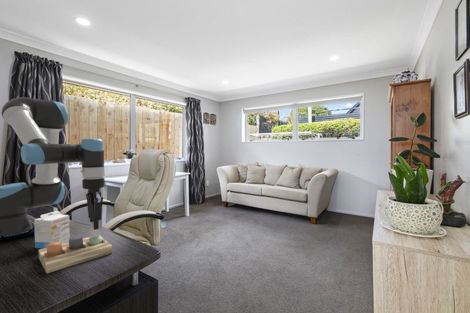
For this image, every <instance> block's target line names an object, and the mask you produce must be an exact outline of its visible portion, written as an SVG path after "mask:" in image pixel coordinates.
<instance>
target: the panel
mask: <svg viewBox="0 0 470 313" xmlns="http://www.w3.org/2000/svg"><path fill="white" fill-rule="evenodd" d="M90 237H91V236H88V237H83V247H81V248H78V249H73V250H71V249H69V242H67V243H64V244H62V252H61V253H59V254H57V255H52V256H48V255H47V248H39V249H38V260H39V262H40V263H41V265H42V268H43V269H44V271H45V273H46V274H50V273H53V272H57V271H59V270H63V269H66V268H69V267H72V266H75V265H79V264H81V263H82V264H83V263H85V262H88V261H91V260H96V259H98V258H100V257H105V256H107V255H112V254H113V245H112V244H111V243H110V242H109V241H108V240H106V239H105V238H104V237H102V243H101V244H98V245H94V246H91V247H90V246H89V238H90Z"/></svg>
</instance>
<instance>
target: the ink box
mask: <svg viewBox="0 0 470 313" xmlns="http://www.w3.org/2000/svg"><path fill="white" fill-rule="evenodd" d="M33 225H34V248H35V249H44V248H47V244H49V243H52V242H58V241H60V242H62V244H64V243H68V242H69V239H70V238H71V236H70V233H71V232H70V215H68V214H62V212H60V211H59V210H55V211H52V212H47V213H44V214H41V215H40V218H35V219H34V223H33Z"/></svg>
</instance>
